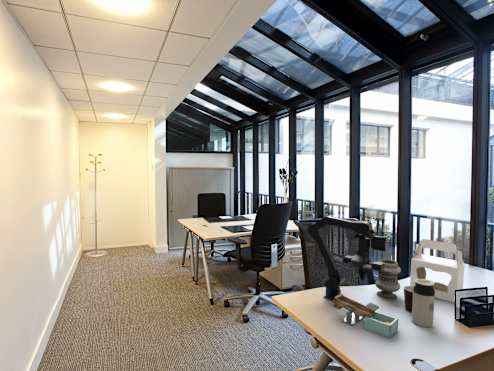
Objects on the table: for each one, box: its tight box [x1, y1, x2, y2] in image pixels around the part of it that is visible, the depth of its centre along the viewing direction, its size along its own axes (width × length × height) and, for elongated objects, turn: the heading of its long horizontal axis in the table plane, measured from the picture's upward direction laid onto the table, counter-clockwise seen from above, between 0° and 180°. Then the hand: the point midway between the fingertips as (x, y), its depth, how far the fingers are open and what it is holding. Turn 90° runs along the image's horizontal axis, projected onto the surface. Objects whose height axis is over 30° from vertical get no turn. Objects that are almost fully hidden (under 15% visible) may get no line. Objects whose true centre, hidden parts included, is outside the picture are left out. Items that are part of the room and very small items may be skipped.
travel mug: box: [411, 279, 435, 328], centre depth 137 cm, size 8×8×18 cm
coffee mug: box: [403, 285, 414, 314], centre depth 150 cm, size 12×9×10 cm
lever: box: [332, 293, 380, 319], centre depth 142 cm, size 16×14×5 cm
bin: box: [364, 310, 399, 339], centre depth 130 cm, size 10×9×5 cm
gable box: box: [409, 238, 465, 303], centre depth 171 cm, size 22×13×28 cm, turn 45°
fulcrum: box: [341, 301, 364, 327], centre depth 139 cm, size 5×11×6 cm, turn 136°
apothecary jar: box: [374, 258, 402, 300], centre depth 167 cm, size 12×12×18 cm
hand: (362, 280), depth 153 cm, fingers closed
